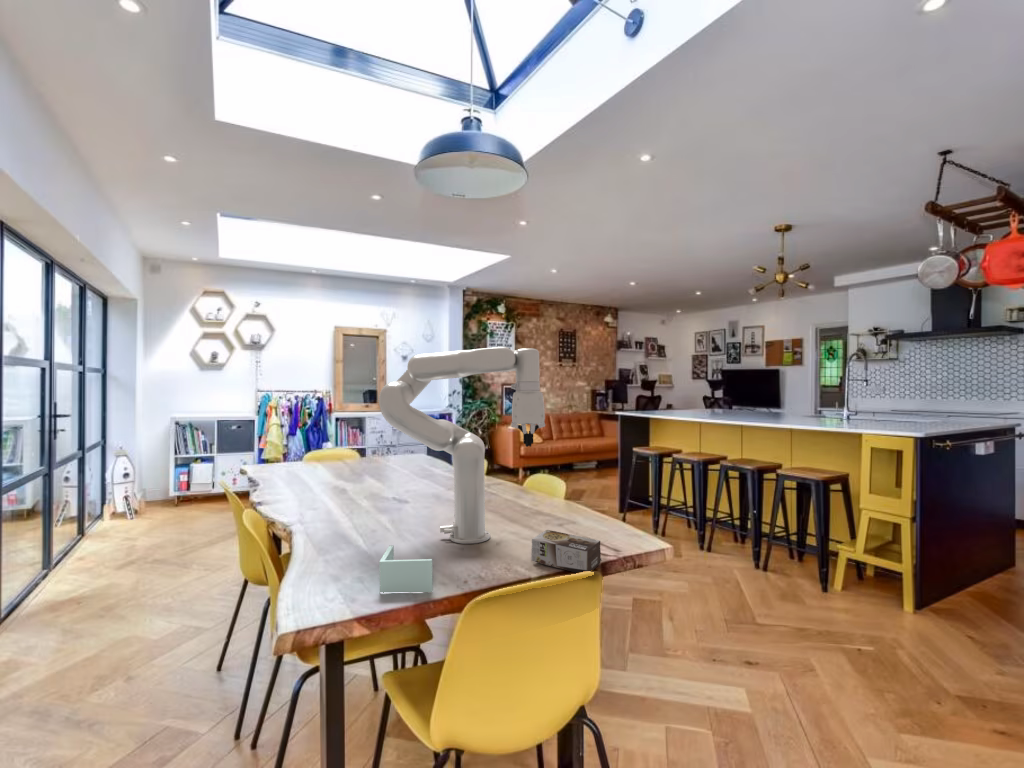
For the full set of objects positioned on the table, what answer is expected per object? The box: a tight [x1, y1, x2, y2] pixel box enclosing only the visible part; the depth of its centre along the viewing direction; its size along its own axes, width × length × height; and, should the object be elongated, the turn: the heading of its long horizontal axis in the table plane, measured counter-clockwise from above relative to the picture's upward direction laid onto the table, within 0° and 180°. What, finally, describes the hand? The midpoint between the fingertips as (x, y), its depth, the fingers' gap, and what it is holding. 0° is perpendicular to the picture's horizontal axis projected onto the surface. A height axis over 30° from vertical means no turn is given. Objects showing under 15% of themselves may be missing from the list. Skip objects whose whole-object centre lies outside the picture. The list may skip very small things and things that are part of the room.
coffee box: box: [530, 529, 602, 573], centre depth 134 cm, size 9×6×16 cm
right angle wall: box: [378, 544, 434, 593], centre depth 122 cm, size 12×12×8 cm
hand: (528, 446), depth 159 cm, fingers closed
